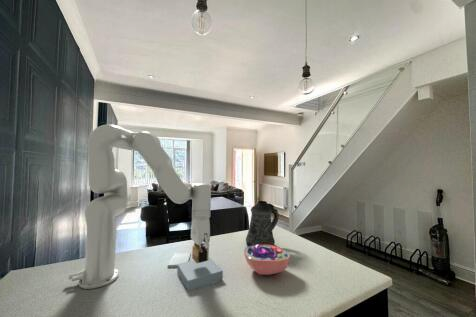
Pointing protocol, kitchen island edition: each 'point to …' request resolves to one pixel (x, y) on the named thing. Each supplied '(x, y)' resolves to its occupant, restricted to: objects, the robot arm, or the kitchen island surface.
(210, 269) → the slate base
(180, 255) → the hard drive
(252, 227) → the beer stein
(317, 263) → the kitchen island surface
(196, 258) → the amber block
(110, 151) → the robot arm
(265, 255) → the cell model
